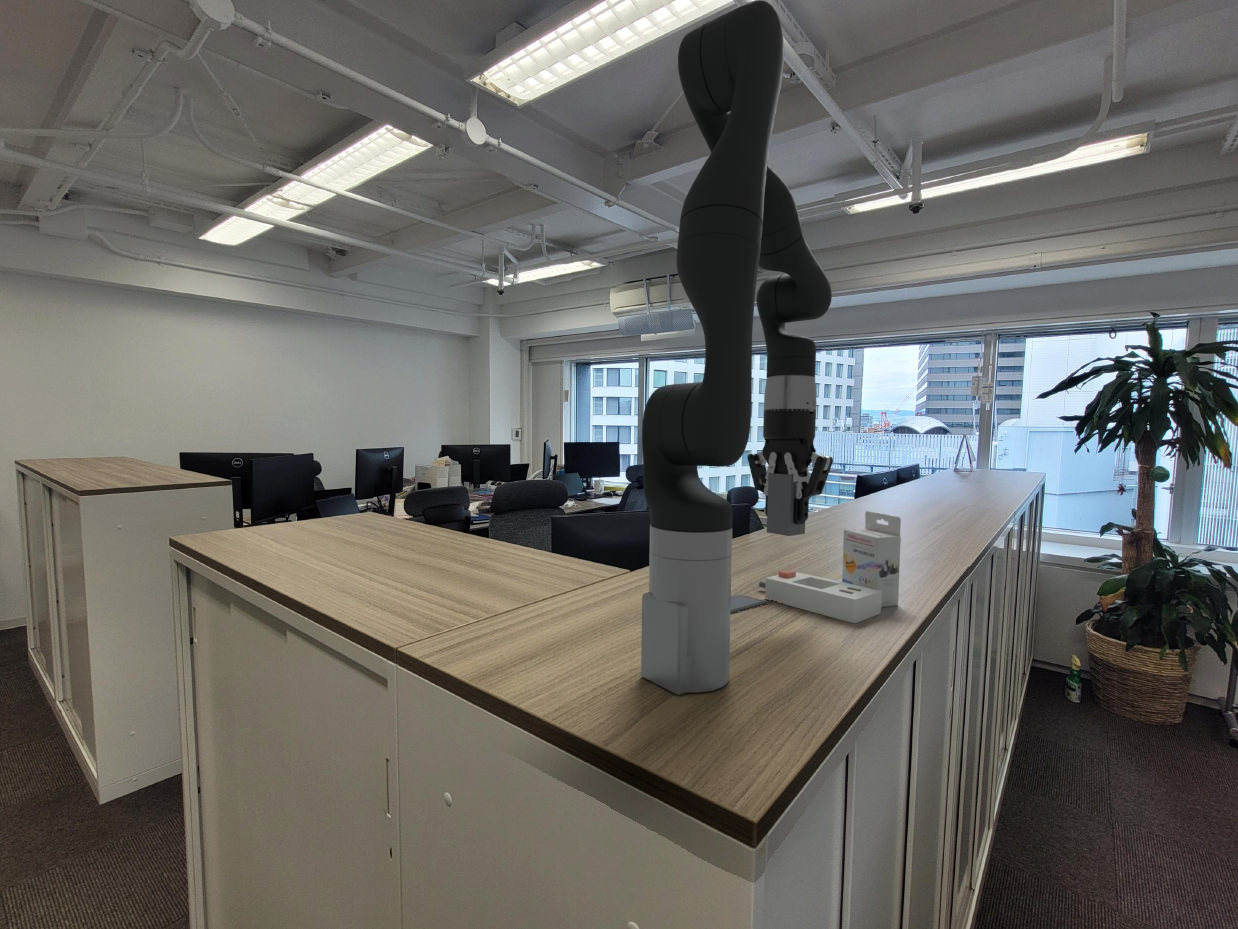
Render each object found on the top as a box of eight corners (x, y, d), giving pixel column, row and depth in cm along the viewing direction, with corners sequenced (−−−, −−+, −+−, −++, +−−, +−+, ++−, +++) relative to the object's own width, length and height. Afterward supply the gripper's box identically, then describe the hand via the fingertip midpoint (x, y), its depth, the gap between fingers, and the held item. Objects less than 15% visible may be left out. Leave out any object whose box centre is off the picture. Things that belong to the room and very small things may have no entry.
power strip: (854, 623, 83) (855, 594, 83) (746, 593, 98) (746, 568, 98) (880, 613, 88) (881, 585, 88) (773, 586, 103) (774, 562, 103)
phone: (718, 621, 85) (718, 614, 85) (690, 611, 90) (690, 605, 90) (767, 607, 92) (768, 601, 92) (739, 599, 97) (739, 593, 97)
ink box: (839, 594, 99) (842, 511, 98) (863, 592, 100) (865, 510, 100) (875, 608, 91) (878, 518, 90) (899, 606, 92) (903, 517, 91)
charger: (789, 536, 82) (791, 473, 81) (766, 532, 85) (768, 472, 85) (804, 533, 84) (806, 473, 84) (782, 530, 87) (784, 471, 87)
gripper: (736, 408, 87) (733, 518, 88) (818, 404, 76) (814, 530, 77) (765, 411, 92) (762, 515, 92) (847, 407, 81) (843, 526, 81)
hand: (786, 521), depth 85 cm, fingers closed on charger, 4 cm apart
